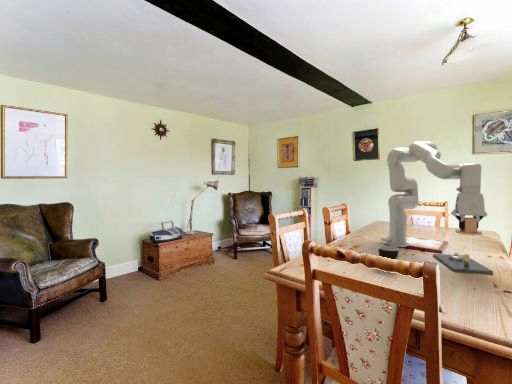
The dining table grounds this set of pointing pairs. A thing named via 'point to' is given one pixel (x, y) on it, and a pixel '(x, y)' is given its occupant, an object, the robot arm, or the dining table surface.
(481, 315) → the dining table surface
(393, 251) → the coffee mug
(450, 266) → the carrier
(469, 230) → the hollow square star tube
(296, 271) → the dining table surface
